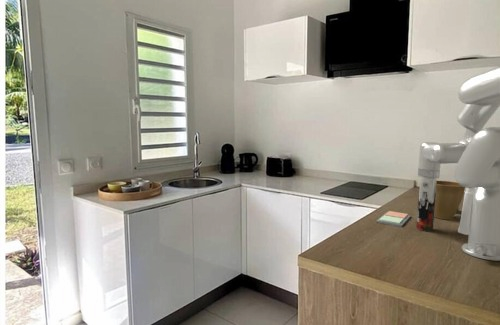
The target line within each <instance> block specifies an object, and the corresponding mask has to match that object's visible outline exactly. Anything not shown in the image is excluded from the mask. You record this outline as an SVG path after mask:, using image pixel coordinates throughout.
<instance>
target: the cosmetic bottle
mask: <svg viewBox="0 0 500 325" xmlns="http://www.w3.org/2000/svg"><path fill="white" fill-rule="evenodd" d="M475 190H476V188H465V191H464V194H463V202H462V209H461V216H460V221H459V226H458V228H457V233H459V234H461V235H466V236H469V225H470V214H471V205H472V198H473V194H474V192H475Z"/></svg>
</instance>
